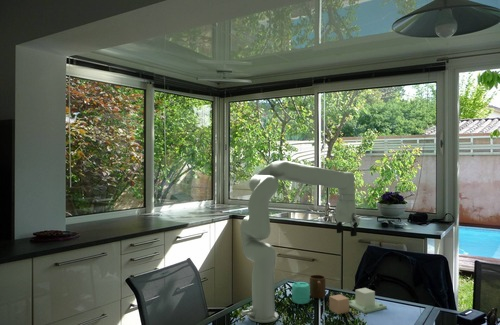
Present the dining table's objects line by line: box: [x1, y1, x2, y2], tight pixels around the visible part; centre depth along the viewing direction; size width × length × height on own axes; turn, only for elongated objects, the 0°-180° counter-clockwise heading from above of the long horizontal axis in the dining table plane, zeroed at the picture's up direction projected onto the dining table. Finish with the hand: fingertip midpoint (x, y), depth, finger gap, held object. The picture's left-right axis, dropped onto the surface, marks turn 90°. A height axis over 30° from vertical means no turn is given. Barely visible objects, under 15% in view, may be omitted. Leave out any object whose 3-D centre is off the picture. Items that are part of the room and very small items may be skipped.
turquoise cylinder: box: [291, 281, 311, 305], centre depth 188 cm, size 8×8×8 cm
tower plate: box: [349, 287, 387, 314], centre depth 181 cm, size 13×13×7 cm
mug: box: [309, 274, 326, 299], centre depth 193 cm, size 12×8×9 cm, turn 178°
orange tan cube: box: [328, 294, 350, 315], centre depth 176 cm, size 6×6×6 cm
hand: (346, 234), depth 189 cm, fingers open, 9 cm apart
